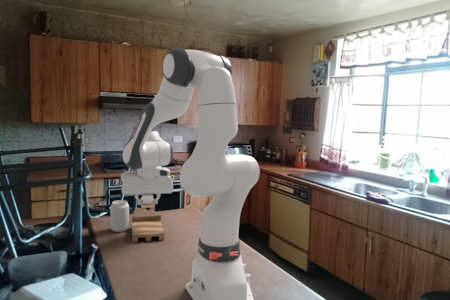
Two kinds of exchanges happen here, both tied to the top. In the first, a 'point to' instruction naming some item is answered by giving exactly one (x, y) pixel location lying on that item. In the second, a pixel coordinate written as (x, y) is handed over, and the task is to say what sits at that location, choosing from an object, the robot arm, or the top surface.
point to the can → (119, 216)
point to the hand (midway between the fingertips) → (147, 204)
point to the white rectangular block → (147, 198)
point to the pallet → (144, 206)
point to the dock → (147, 227)
